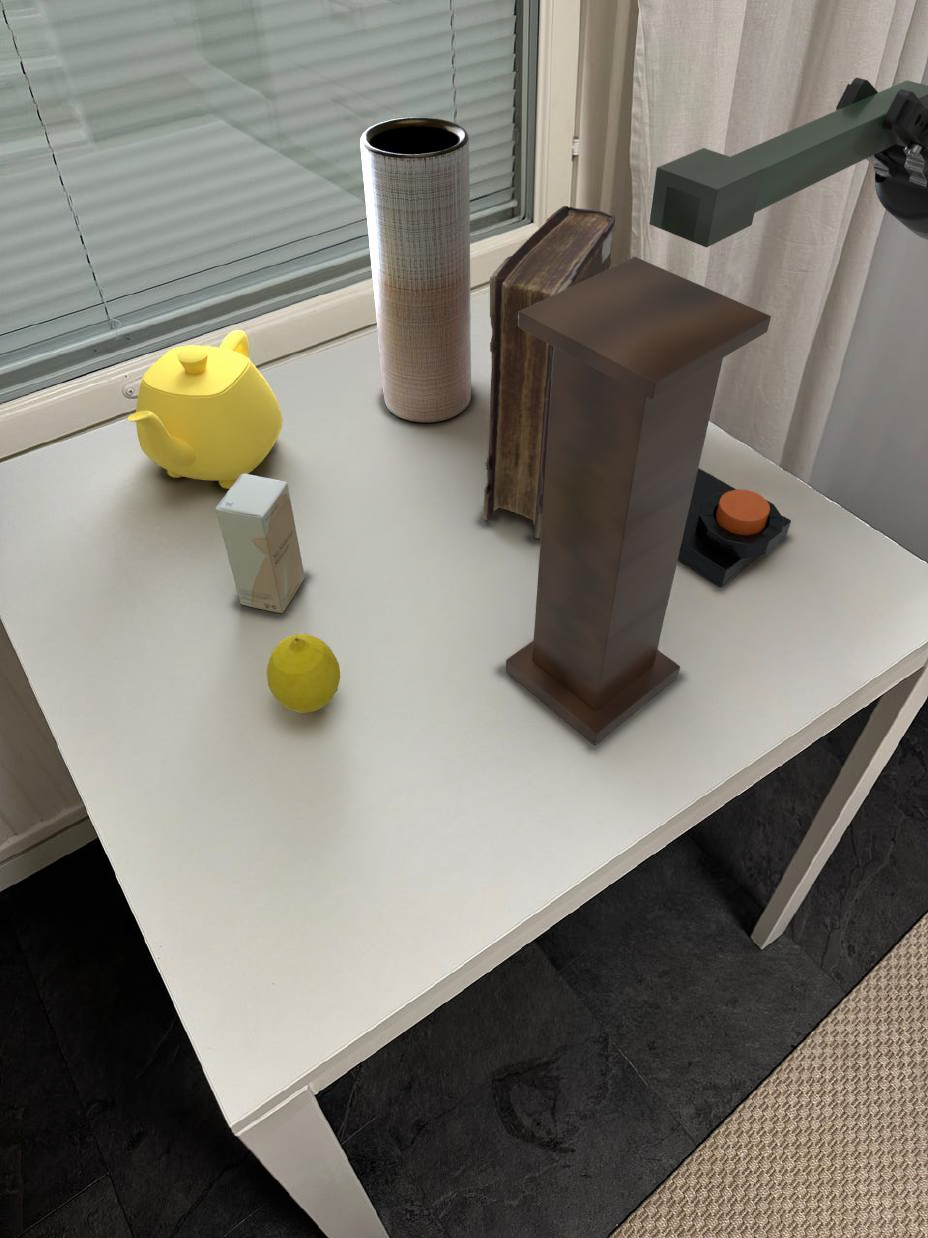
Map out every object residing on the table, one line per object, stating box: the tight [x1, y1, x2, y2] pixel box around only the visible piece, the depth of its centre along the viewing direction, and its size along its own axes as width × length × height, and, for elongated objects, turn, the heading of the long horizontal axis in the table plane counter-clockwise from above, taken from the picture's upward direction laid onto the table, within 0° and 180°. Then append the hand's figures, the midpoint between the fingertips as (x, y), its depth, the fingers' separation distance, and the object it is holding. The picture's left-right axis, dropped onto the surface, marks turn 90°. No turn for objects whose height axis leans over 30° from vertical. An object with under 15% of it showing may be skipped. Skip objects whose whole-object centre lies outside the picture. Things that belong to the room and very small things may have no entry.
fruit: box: [266, 633, 341, 714], centre depth 69 cm, size 6×6×8 cm
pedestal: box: [505, 256, 772, 746], centre depth 62 cm, size 10×10×32 cm
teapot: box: [127, 329, 284, 490], centre depth 89 cm, size 13×20×12 cm
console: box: [677, 467, 792, 588], centre depth 84 cm, size 13×10×4 cm
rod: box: [648, 80, 928, 248], centre depth 52 cm, size 4×24×3 cm, turn 132°
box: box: [215, 473, 306, 614], centre depth 77 cm, size 5×4×11 cm
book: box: [482, 205, 616, 539], centre depth 81 cm, size 17×7×25 cm, turn 150°
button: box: [716, 489, 770, 535], centre depth 80 cm, size 4×4×2 cm
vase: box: [360, 116, 472, 424], centre depth 91 cm, size 10×10×28 cm
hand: (873, 101), depth 54 cm, fingers closed on rod, 2 cm apart
